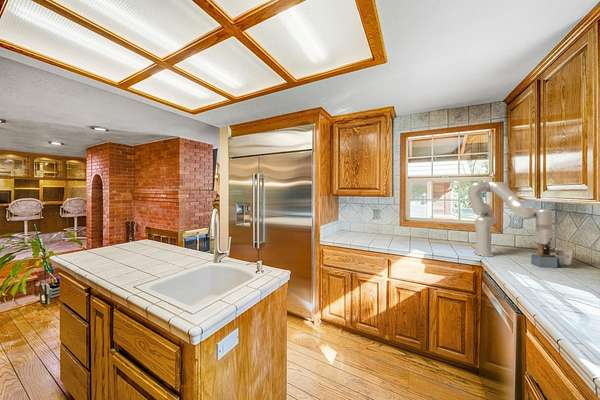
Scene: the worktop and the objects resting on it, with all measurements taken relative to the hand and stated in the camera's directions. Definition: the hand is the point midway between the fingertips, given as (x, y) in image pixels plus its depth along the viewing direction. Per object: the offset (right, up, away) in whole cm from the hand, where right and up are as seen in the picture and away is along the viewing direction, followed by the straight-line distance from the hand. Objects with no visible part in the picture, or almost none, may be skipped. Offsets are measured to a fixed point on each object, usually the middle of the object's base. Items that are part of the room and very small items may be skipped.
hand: (544, 253), depth 152 cm
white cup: (+18, -8, +4) cm, 20 cm away
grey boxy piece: (+4, -8, -1) cm, 9 cm away
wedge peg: (0, -3, 0) cm, 3 cm away
